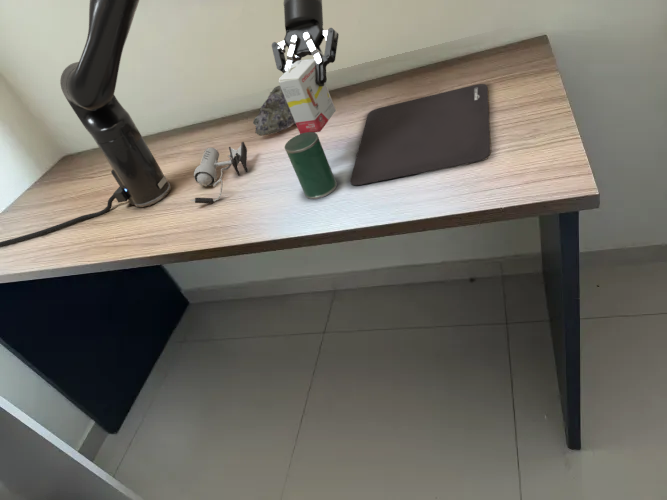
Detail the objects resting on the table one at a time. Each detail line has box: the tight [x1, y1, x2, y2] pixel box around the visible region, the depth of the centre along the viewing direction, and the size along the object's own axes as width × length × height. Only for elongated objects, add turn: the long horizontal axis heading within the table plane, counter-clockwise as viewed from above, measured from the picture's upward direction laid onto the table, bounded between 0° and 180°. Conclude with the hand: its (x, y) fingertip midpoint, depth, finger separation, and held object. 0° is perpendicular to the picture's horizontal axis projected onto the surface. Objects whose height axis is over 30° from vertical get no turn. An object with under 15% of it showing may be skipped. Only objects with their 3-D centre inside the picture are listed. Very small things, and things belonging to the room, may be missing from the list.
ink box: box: [278, 58, 337, 134], centre depth 125 cm, size 9×5×12 cm, turn 156°
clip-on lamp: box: [190, 141, 249, 204], centre depth 142 cm, size 12×6×18 cm
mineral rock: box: [252, 85, 296, 137], centre depth 154 cm, size 13×11×10 cm
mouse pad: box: [349, 83, 491, 186], centre depth 130 cm, size 32×27×1 cm
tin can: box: [284, 132, 338, 200], centre depth 123 cm, size 7×7×11 cm
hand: (306, 87), depth 125 cm, fingers closed on ink box, 5 cm apart
